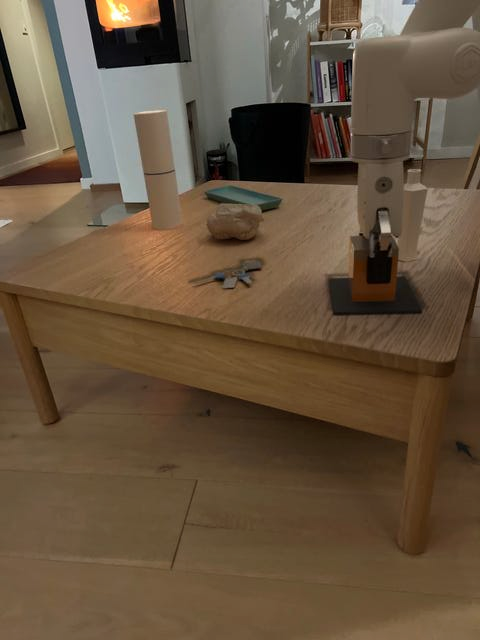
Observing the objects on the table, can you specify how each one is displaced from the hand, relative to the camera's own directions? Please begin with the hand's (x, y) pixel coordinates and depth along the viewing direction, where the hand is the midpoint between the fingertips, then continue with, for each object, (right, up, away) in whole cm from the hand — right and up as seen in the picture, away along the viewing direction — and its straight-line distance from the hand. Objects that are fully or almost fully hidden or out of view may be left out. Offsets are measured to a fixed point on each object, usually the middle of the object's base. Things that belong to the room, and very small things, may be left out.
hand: (373, 269), depth 69 cm
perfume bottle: (+10, +3, +14) cm, 18 cm away
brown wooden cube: (0, 0, 0) cm, 0 cm away
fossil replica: (-20, +10, +31) cm, 39 cm away
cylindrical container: (-37, +15, +44) cm, 60 cm away
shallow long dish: (-19, +24, +58) cm, 66 cm away
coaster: (0, -4, +2) cm, 4 cm away
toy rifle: (-20, 0, +12) cm, 23 cm away
